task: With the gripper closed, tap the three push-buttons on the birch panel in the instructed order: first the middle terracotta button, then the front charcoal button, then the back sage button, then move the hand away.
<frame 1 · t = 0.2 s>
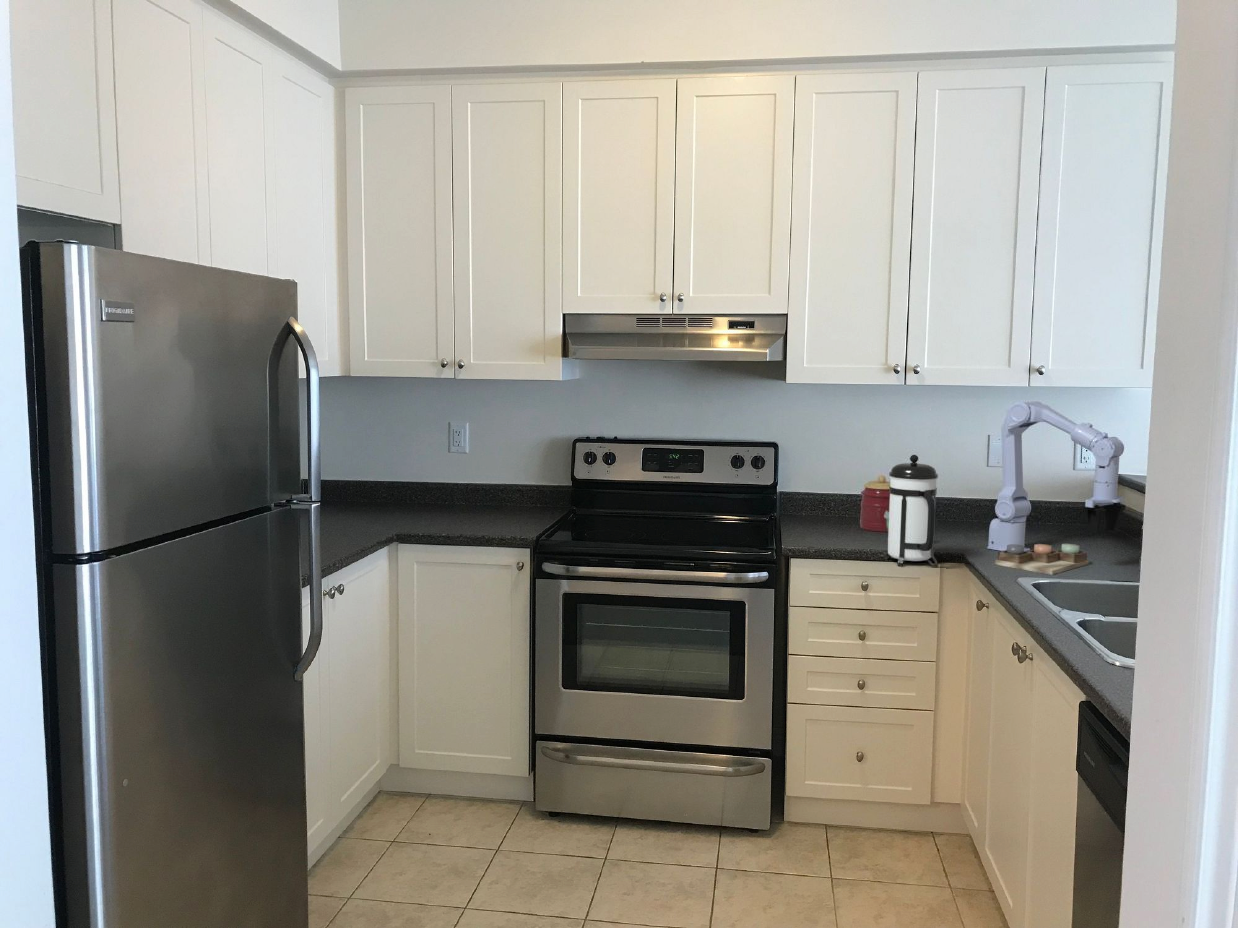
hand: (1102, 531, 263), 10 cm above the worktop, fingers open, 7 cm apart
terracotta button: (1042, 550, 266), point 4 cm above the worktop, slide at 0.0 cm
button panel: (1042, 564, 267), on the worktop
sage button: (1070, 549, 267), point 4 cm above the worktop, slide at 0.0 cm
canister: (879, 529, 319), on the worktop
charcoal button: (1015, 550, 266), point 4 cm above the worktop, slide at 0.0 cm
food container: (903, 546, 291), on the worktop
coffee press: (913, 563, 267), on the worktop
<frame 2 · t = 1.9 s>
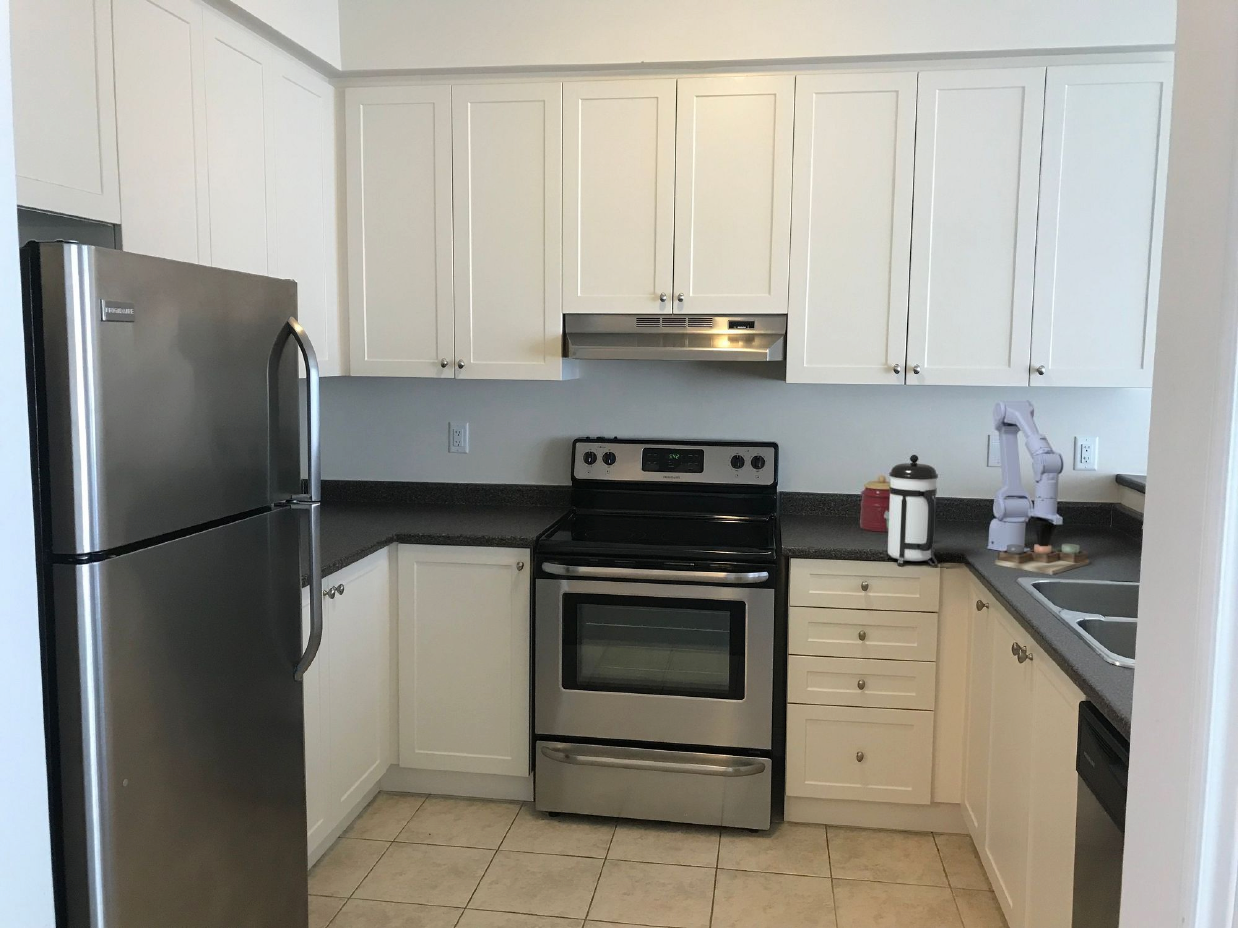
hand: (1043, 545, 266), 5 cm above the worktop, fingers closed, pressing on terracotta button
terracotta button: (1042, 550, 266), point 4 cm above the worktop, slide at 0.0 cm, touching gripper
everything else where it was.
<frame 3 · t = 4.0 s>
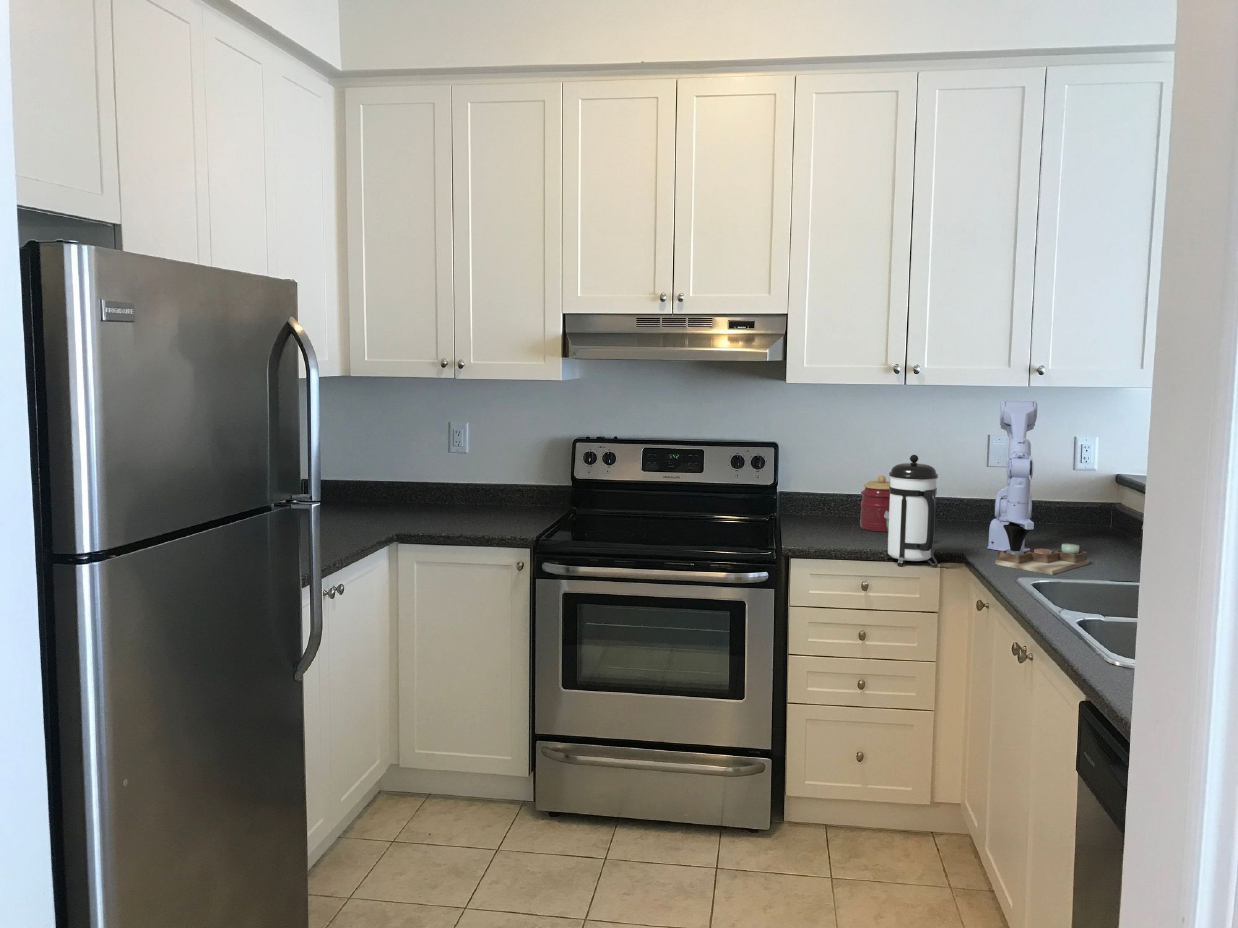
hand: (1015, 550, 266), 4 cm above the worktop, fingers closed, pressing on charcoal button
terracotta button: (1042, 554, 266), point 3 cm above the worktop, slide at 1.3 cm
charcoal button: (1015, 555, 266), point 3 cm above the worktop, slide at 1.3 cm, touching gripper
everything else where it was.
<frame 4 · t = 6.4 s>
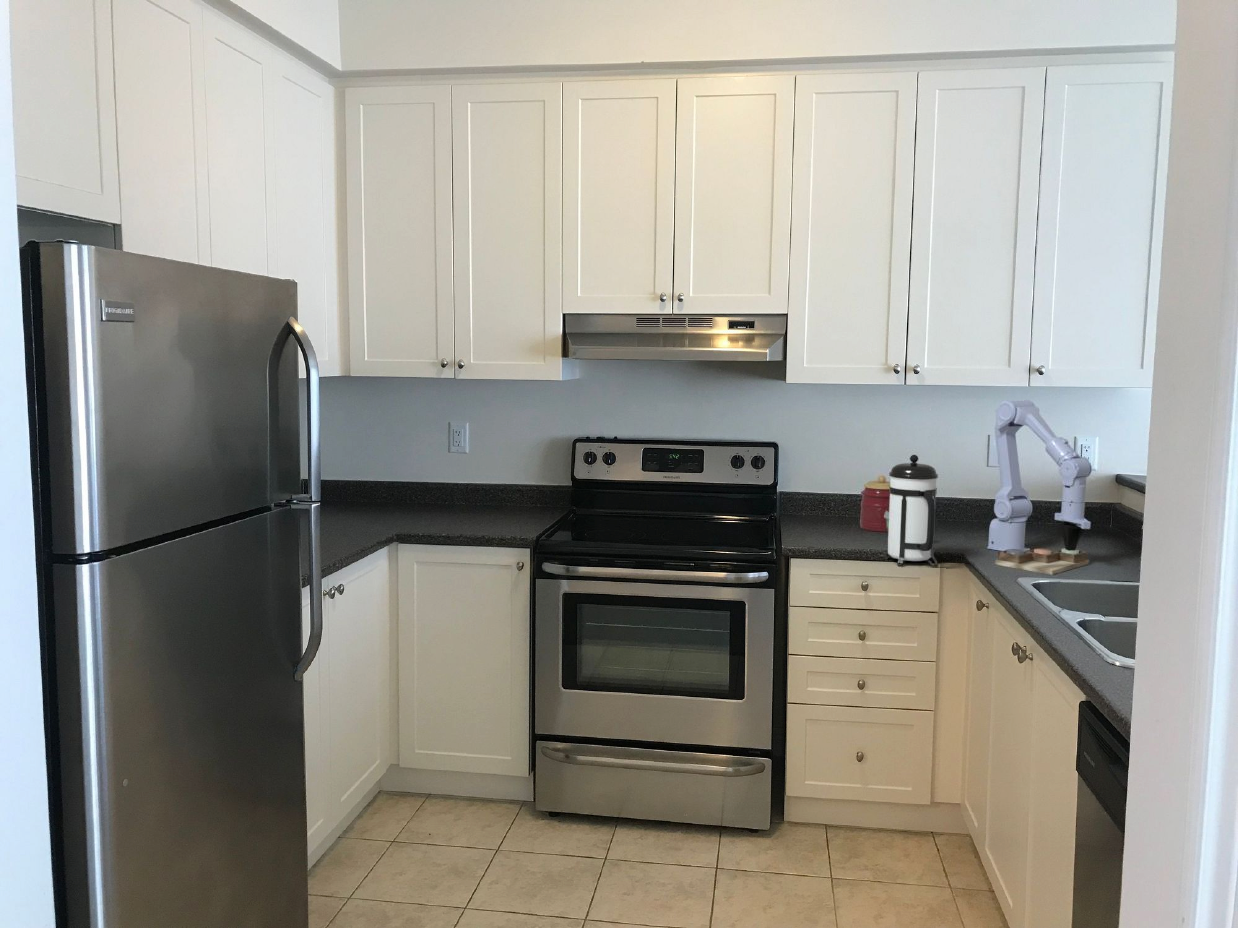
hand: (1070, 550, 267), 4 cm above the worktop, fingers closed, pressing on sage button
sage button: (1069, 554, 267), point 3 cm above the worktop, slide at 1.3 cm, touching gripper
charcoal button: (1015, 555, 266), point 3 cm above the worktop, slide at 1.3 cm
everything else where it was.
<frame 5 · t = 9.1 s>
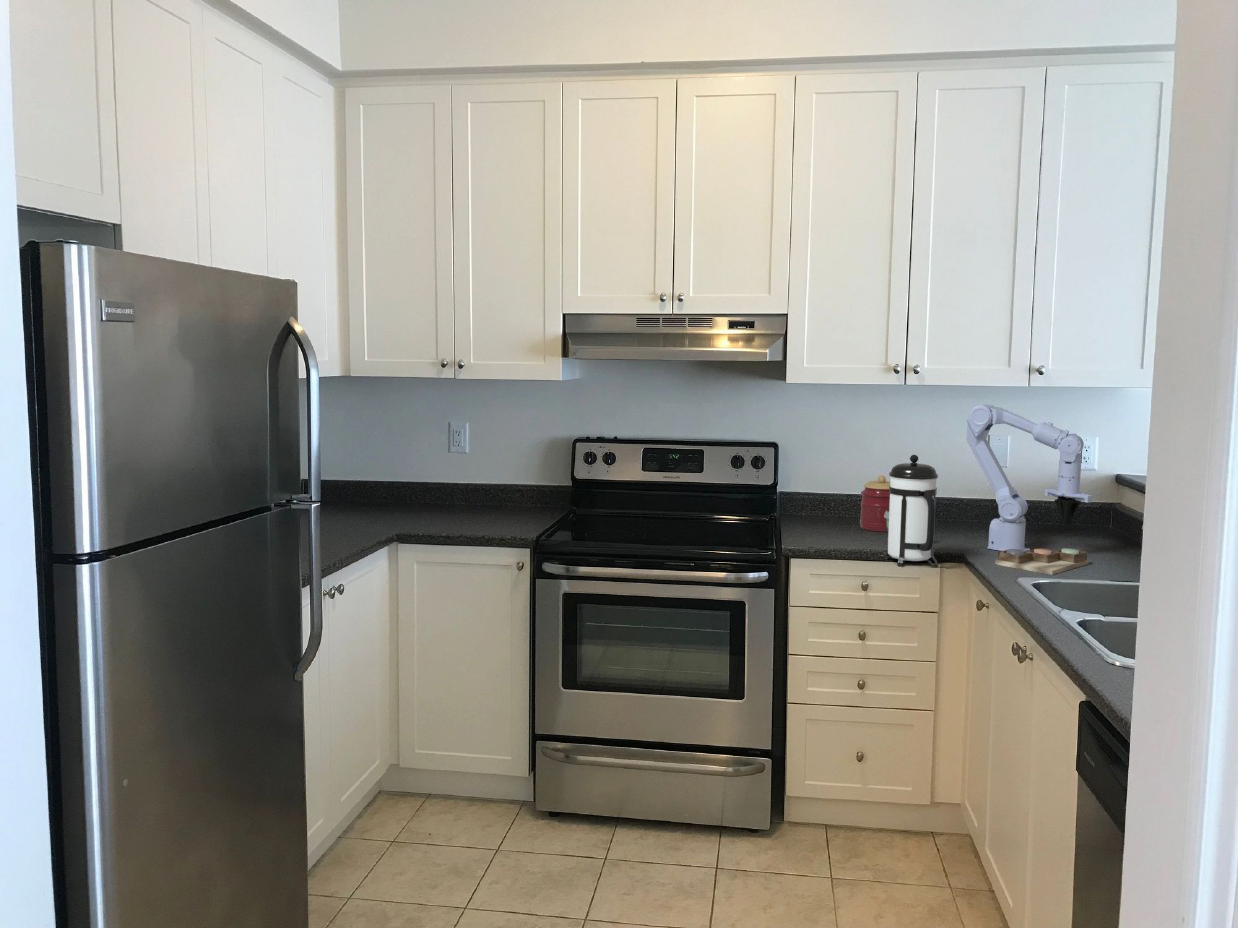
hand: (1066, 524, 276), 9 cm above the worktop, fingers closed
sage button: (1069, 554, 267), point 3 cm above the worktop, slide at 1.3 cm
everything else where it was.
at the end: terracotta button slide at 1.3 cm; charcoal button slide at 1.3 cm; sage button slide at 1.3 cm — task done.
